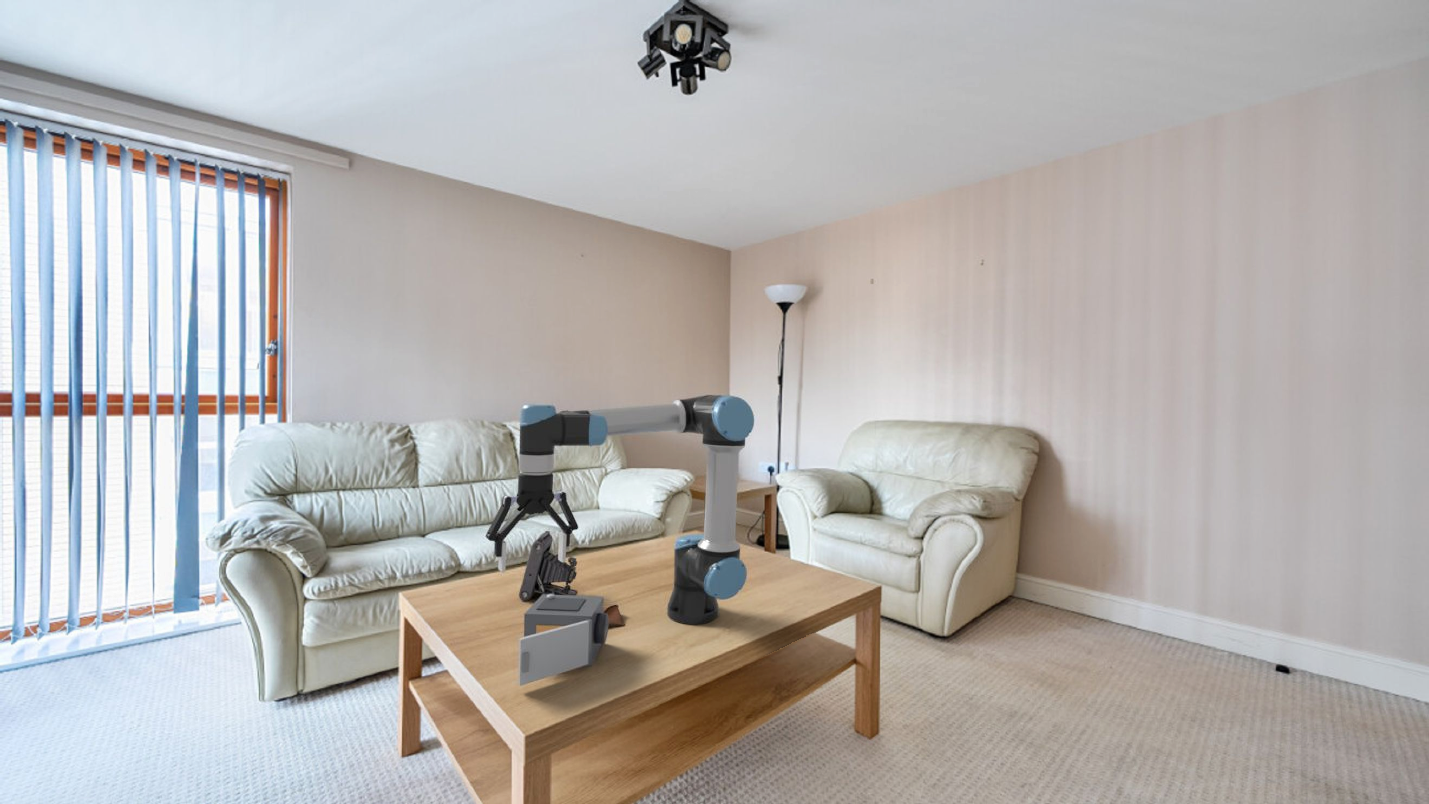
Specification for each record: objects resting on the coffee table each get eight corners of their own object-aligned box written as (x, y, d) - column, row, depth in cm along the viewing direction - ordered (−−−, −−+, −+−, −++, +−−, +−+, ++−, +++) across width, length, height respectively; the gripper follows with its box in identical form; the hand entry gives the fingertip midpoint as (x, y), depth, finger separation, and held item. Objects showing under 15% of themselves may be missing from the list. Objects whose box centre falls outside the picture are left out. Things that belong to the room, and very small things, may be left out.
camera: (566, 614, 162) (584, 551, 162) (513, 598, 162) (532, 536, 162) (576, 600, 173) (593, 542, 173) (527, 585, 173) (544, 527, 173)
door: (589, 661, 125) (590, 619, 125) (593, 664, 123) (594, 621, 123) (518, 683, 114) (519, 637, 114) (521, 687, 113) (522, 641, 113)
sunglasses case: (562, 637, 139) (559, 611, 142) (556, 641, 144) (554, 615, 147) (627, 625, 148) (624, 600, 151) (620, 629, 153) (617, 605, 156)
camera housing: (610, 642, 137) (611, 593, 137) (598, 667, 125) (599, 613, 125) (541, 640, 138) (542, 591, 137) (523, 664, 125) (524, 610, 125)
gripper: (581, 467, 131) (578, 553, 131) (473, 473, 115) (469, 570, 116) (594, 471, 125) (591, 561, 125) (482, 478, 110) (478, 580, 110)
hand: (532, 565), depth 120 cm, fingers open, 13 cm apart
